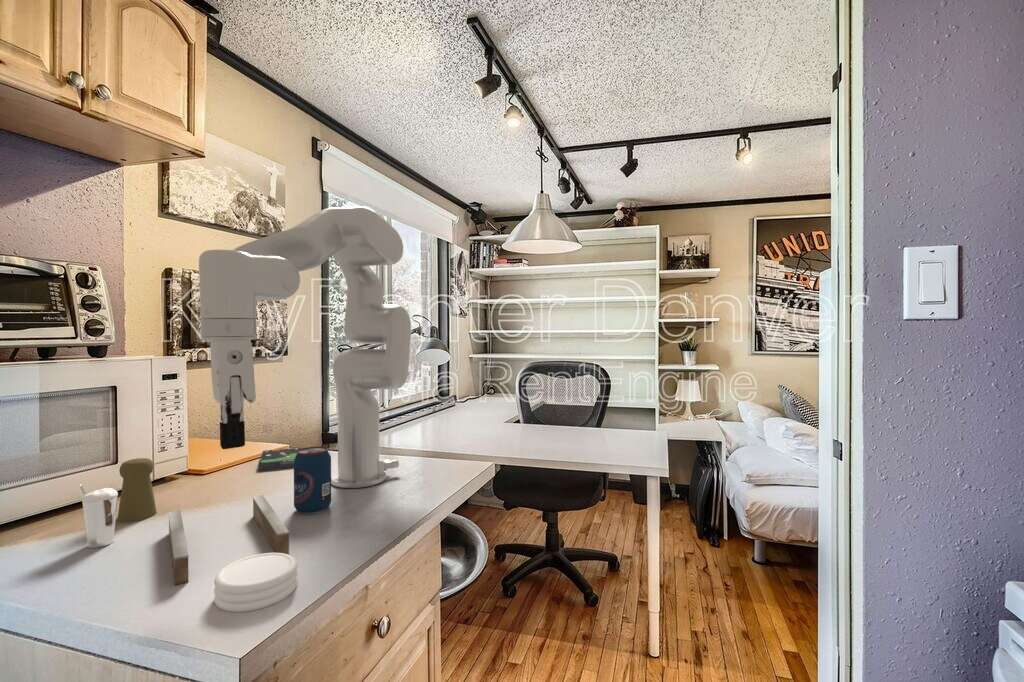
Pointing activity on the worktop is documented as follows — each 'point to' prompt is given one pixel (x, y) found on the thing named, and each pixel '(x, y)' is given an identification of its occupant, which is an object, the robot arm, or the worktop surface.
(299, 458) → the soda can
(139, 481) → the olive pepper shaker
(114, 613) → the worktop surface
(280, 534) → the chute
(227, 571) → the coaster
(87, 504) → the milkshake
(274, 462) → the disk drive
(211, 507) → the worktop surface
